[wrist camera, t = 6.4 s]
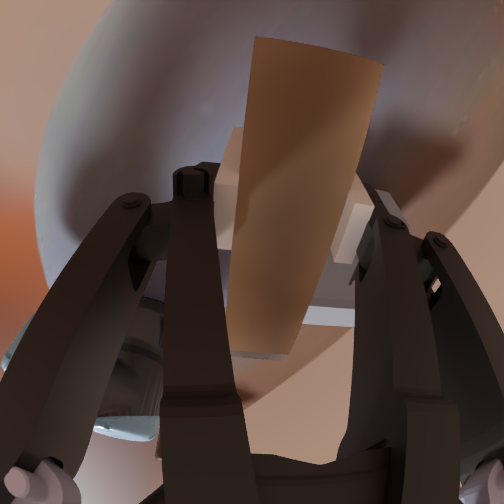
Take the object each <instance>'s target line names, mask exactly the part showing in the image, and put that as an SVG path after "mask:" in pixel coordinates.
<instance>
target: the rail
mask: <svg viewBox="0 0 504 504" xmlns="http://www.w3.org/2000/svg"><path fill="white" fill-rule="evenodd" d="M383 66H384V64H383V63H379V62H376V61H373V60H370V59H366V58H363V57H359V56H356V55H352V54H348V53H345V52H341V51H336V50H332V49H328V48H323V47H319V46H314V45H309V44H303V43H298V42H292V41H286V40H279V39H272V38H264V37H255V41H254V48H253V56H252V64H251V72H250V80H249V88H248V96H247V105H246V113H245V122H244V131H243V140H242V149H241V158H240V167H239V174H240V175H239V184H238V194H237V204H236V214H235V224H234V235H233V242H232V248H231V259H230V270H229V282H228V294H227V306H226V324H227V331H228V339H229V346H230V354H231V356H234V357H244V358H254V359H266V360H279V361H283V360H284V357H285V355H289V353H290V351H291V349H292V346H293V344H294V342H295V339H296V337H297V334H298V332H299V330H300V327H301V325H302V322H303V320H304V317H305V315H306V312H307V310H308V307H309V305H310V302H311V300H312V297H313V295H314V292H315V290H316V287H317V284H318V282H319V279H320V276H321V274H322V271H323V268H324V266H325V263H326V260H327V257H328V255H329V252H330V249H331V245H332V242H333V239H334V236H335V233H336V230H337V227H338V224H339V221H340V218H341V215H342V212H343V209H344V206H345V203H346V200H347V197H348V194H349V191H350V189H351V186H352V183H353V179H354V176H355V173H356V170H357V166H358V163H359V159H360V156H361V153H362V149H363V146H364V142H365V138H366V135H367V131H368V127H369V124H370V120H371V116H372V112H373V108H374V104H375V100H376V96H377V92H378V88H379V83H380V79H381V75H382V70H383Z"/></svg>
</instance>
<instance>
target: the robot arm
mask: <svg viewBox="0 0 504 504" xmlns="http://www.w3.org/2000/svg"><path fill="white" fill-rule="evenodd" d="M243 131H244V128H241V127H234V128H233V130H232V133H231V136H230V139H229V142H228V144H227V147H226V150H225V153H224V156H223V159H222V162H221V163H211V162H201V163H199V164H198V165H196V166H186V167H182V168H179V169H177V170H176V171H175V172H174V173H173V200H172V201H169V202H165V203H158V204H151V200H150V198H149V197H148V196H147V195H145V194H142V193H127V194H124V195H122V196H120V197H118V198H117V199H116V200H115V201H114V202H113V203H112V204H111V205H110V207H109V208H108V209H107V210H106V212H105V213H104V214H103V215H102V217H101V218H100V219H99V220H98V222H97V223H96V224H95V226H94V227H93V228H92V230H91V231H90V232H89V234H88V235H87V236H86V238H85V239H84V240H83V242H82V243H81V244H80V246H79V247H78V249H77V250H76V251H75V253H74V254H73V256H72V257H71V258H70V260H69V261H68V263H67V264H66V266H65V267H64V269H63V270H62V272H61V273H60V275H59V276H58V278H57V279H56V281H55V282H54V284H53V285H52V287H51V289H50V290H49V292H48V293H47V295H46V297H45V299H44V300H43V302H42V303H41V305H40V307H39V308H38V310H37V312H36V313H34V314H33V315H32V316H31V317H30V318H29V320H28V321H27V322H26V323H25V325H24V326H23V327H22V329H21V330H20V331H19V333H18V334H17V336H16V337H15V339H14V340H13V342H12V343H11V345H10V347H9V349H8V351H7V352H6V354H5V356H4V357H3V359H2V362H1V367H2V368H3V370H4V371H5V373H4V375H3V377H2V380H1V382H0V504H81V494H80V491H79V488H78V487H77V485H76V483H75V482H74V480H73V478H74V477H75V475H76V474H77V471H78V470H79V467H80V465H81V463H82V461H83V459H84V456H85V453H86V450H87V448H88V445H89V442H90V438H91V435H92V431H94V432H97V433H100V434H103V435H107V436H111V437H115V438H119V439H125V440H131V441H150V440H152V439H154V438H155V436H156V435H157V433H158V429H159V426H160V442H161V458H162V472H163V483H164V484H162V485H161V486H160V487H159V488H158V489H157V490H155V491H154V492H153V493H152V494H150V495H149V496H148V497H147V498H146V499H144V500H143V501H142V502H140V503H139V504H504V333H503V331H502V329H501V327H500V325H499V323H498V321H497V319H496V317H495V315H494V313H493V311H492V309H491V307H490V305H489V304H488V302H487V300H486V298H485V297H484V295H483V293H482V291H481V290H480V287H479V286H478V284H477V282H476V281H475V279H474V277H473V276H472V274H471V272H470V271H469V269H468V268H467V266H466V264H465V263H464V261H463V259H462V258H461V256H460V255H459V253H458V252H457V250H456V249H455V247H454V246H453V245H452V243H451V242H450V241H449V240H448V239H447V238H446V237H445V236H444V235H443V234H442V235H441V233H437V232H434V231H429V232H428V233H427V234H426V236H425V238H424V240H423V239H420V238H418V237H415V236H413V235H410V232H409V229H408V227H407V225H406V224H405V223H404V222H403V221H402V220H401V219H399V218H398V217H396V216H394V215H391V214H389V212H388V210H387V208H386V207H385V205H384V203H383V201H382V200H381V198H380V196H379V195H378V193H377V191H376V190H375V189H373V188H372V187H371V186H370V185H367V184H362V182H361V180H360V179H359V177H358V175H357V173H355V176H354V179H353V183H352V186H351V189H350V191H349V194H348V197H347V200H346V203H345V206H344V209H343V212H342V215H341V218H340V221H339V224H338V227H337V230H336V233H335V236H334V239H333V242H332V245H331V252H332V257H333V261H334V262H336V263H345V264H352V262H353V259H354V257H355V255H356V253H357V256H358V259H359V261H358V263H357V266H356V268H355V270H354V272H353V275H352V277H351V279H350V281H349V284H348V285H351V284H352V282H353V281H355V326H354V329H355V330H354V353H353V370H352V385H351V397H350V407H349V417H348V426H347V430H346V433H345V435H344V437H343V439H342V441H341V443H340V446H339V449H338V453H337V458H336V461H333V462H330V463H327V464H323V465H317V464H312V463H307V462H302V461H298V460H293V459H289V458H285V457H281V456H277V455H273V454H251V453H250V447H249V442H248V436H247V430H246V424H245V419H244V413H243V407H242V403H241V399H240V396H239V395H238V394H237V391H236V387H235V382H234V375H233V368H232V361H231V354H230V346H229V339H228V331H227V324H226V316H225V308H224V300H223V292H222V284H221V275H220V266H219V257H218V249H224V250H231V248H232V242H233V235H234V224H235V214H236V204H237V194H238V184H239V175H240V174H239V167H240V158H241V149H242V140H243ZM165 259H167V269H166V285H165V304H163V303H161V302H158V301H155V300H152V299H148V298H143V297H142V295H143V292H144V290H145V288H146V285H147V283H148V281H149V278H150V276H151V274H152V272H153V269H154V267H155V265H156V261H157V260H165ZM437 279H439V281H440V283H441V285H440V286H439V288H438V289H437V291H436V292H435V293H434V292H433V290H432V286H433V285H434V283H435V281H436V280H437ZM460 482H461V484H462V487H460Z"/></svg>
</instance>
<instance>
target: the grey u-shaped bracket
mask: <svg viewBox="0 0 504 504" xmlns="http://www.w3.org/2000/svg"><path fill="white" fill-rule="evenodd" d="M375 190H376V191H377V193H378V195H379V196H380V198H381V200H382V201H383V203H384V205H385V207H386V208H387V210H388V212H389V214H391V215H394V216H396V217H398V218H399V219H401V220H402V221H403V222H404V223H405V224H406V225H407V227H408V229H409V232H410V233H411V231H412V229H411V228H410V226H409V224H408V223H407V221H406V219H405V217H404V216H403V214H402V213H401V211H400V209H399V208H398V206H397V204H396V203H395V201H394V200H393V198H392V196H391V195H390V193H389V192H387V191H382V190H377V189H375ZM358 261H359V259H358V256H357V253H356V255H355V257H354V259H353V262H352V264H345V263H336V262H334V261H333V257H332V252H331V249H330V252H329V255H328V257H327V260H326V263H325V266H324V268H323V271H322V274H321V276H320V279H319V282H318V284H317V287H316V290H315V292H314V295H313V297H312V300H311V302H310V305H309V307H308V310H307V312H306V315H305V317H304V320H303V322H302V324H315V325H329V326H346V327H354V326H355V281H353V282H352V284H351V285H348V284H349V281H350V279H351V277H352V275H353V272H354V270H355V268H356V266H357V263H358Z"/></svg>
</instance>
